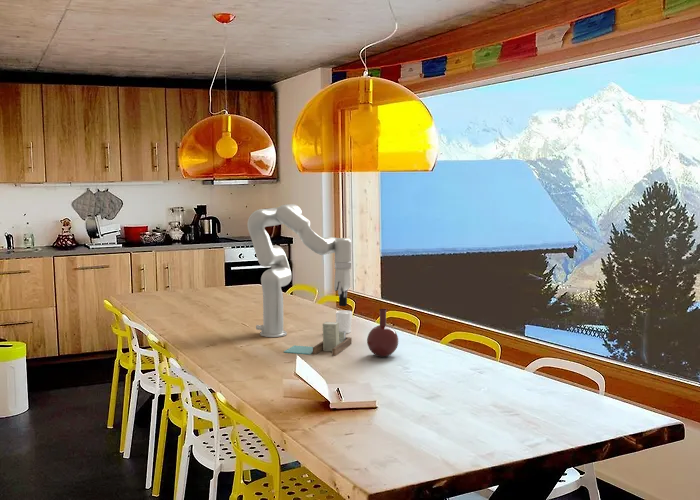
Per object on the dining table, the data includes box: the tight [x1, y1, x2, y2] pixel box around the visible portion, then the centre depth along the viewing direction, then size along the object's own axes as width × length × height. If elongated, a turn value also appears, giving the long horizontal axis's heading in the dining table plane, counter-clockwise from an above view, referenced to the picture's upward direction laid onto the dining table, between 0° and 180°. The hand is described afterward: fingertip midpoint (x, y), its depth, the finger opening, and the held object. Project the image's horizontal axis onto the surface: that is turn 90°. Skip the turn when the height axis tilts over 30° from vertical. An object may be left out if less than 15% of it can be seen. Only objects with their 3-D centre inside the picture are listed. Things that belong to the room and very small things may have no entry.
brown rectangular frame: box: [312, 336, 353, 357], centre depth 329 cm, size 10×23×3 cm, turn 163°
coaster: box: [283, 345, 314, 355], centre depth 326 cm, size 12×12×1 cm
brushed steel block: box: [339, 331, 347, 344], centre depth 334 cm, size 6×6×6 cm
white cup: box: [335, 309, 353, 334], centre depth 363 cm, size 8×8×10 cm
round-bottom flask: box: [366, 308, 399, 358], centre depth 315 cm, size 13×13×20 cm
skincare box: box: [322, 321, 339, 352], centre depth 326 cm, size 6×4×12 cm
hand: (343, 305), depth 340 cm, fingers closed
